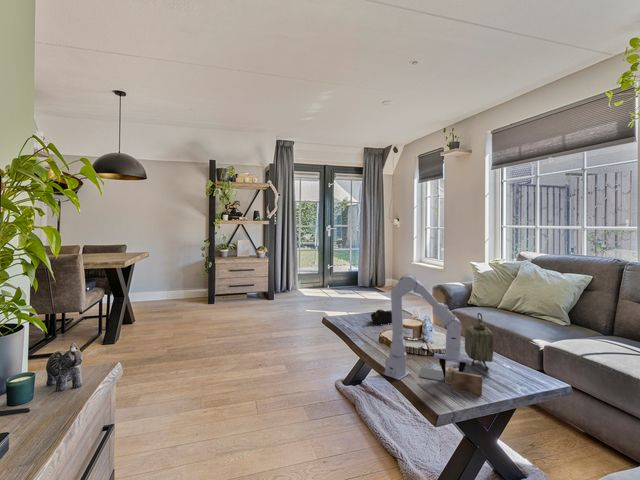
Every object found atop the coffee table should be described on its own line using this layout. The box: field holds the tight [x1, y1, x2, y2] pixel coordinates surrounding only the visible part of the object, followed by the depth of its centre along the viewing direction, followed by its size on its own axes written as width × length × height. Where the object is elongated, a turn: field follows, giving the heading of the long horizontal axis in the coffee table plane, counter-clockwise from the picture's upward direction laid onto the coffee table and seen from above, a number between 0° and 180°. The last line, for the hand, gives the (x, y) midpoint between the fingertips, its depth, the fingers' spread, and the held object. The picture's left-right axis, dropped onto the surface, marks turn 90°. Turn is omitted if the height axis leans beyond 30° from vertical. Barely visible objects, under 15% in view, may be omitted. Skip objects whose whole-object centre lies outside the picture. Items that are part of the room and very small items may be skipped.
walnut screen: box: [450, 371, 483, 396], centre depth 129 cm, size 11×2×7 cm, turn 67°
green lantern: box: [464, 312, 494, 371], centre depth 155 cm, size 14×9×25 cm, turn 168°
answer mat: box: [419, 367, 445, 383], centre depth 144 cm, size 10×10×1 cm
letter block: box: [444, 366, 459, 385], centre depth 138 cm, size 5×5×5 cm
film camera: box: [370, 308, 392, 326], centre depth 222 cm, size 18×12×10 cm
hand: (451, 378), depth 138 cm, fingers closed on letter block, 5 cm apart
